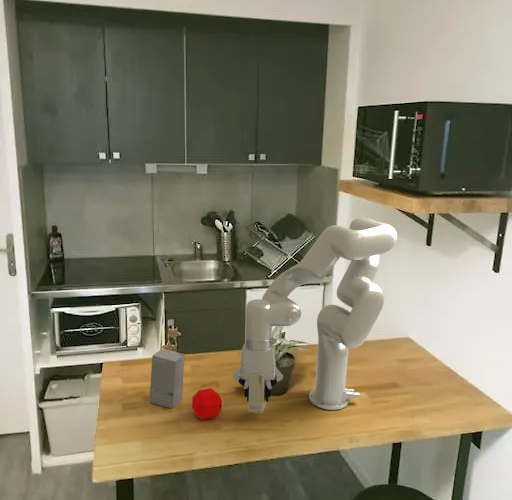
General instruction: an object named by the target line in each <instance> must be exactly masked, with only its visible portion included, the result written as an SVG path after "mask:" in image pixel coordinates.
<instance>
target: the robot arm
mask: <svg viewBox="0 0 512 500" xmlns="http://www.w3.org/2000/svg"><path fill="white" fill-rule="evenodd" d="M397 242H398V234H397V231H396V229H395V228H394V227H393V226H392V225H390V224H388V223H384V222H381V221H378V220H374V219H371V218H368V217H356V218H355V219H353V220H352V221H351V223H350V224H349V228H347V227H345V226H341V225H336V224H335V225H334V224H333V225H329V226H327V227H326V228H325V229H324V230H323V232H322V233H321V234H320V235H319V236H318V238H317V239H316V241H315V242H314V243H313V245H312V246H311V247H310V249H309V250H308V251H307V253H306V254H305V255H304V256H303V258H302V259H301V261H299V262H298V263H297V264H295V265H293V266H291V267H290V268H288V269H286V270H285V271H283V272H282V273H281V274H279V275H278V276H277V277H276V278H275V279H274V280H273V281H272V282H271V284H270V285H269V286H268V287H267V289H266V290H265V292H264V294H263V296H262V297H261V298H260V299H259V298H258V299H251V300H250V301H248V302H247V303H246V305H245V343H244V344H243V345H242V350H241V355H240V366H239V368H238V369H236V371H235V372H234V373H233V375H232V379H234V380H235V381H237V382H238V383H239V384H240V385H241V386H242V387H243V390H244V398H246V402H249V374H264V380H266V403H268V402H269V398H271V396H272V395H271V394H272V393H271V392H272V388H273V387H275V386H276V384H278V383H279V382H281V381H282V380H283V378H284V375H283V374H282V373H281V372H280V370H279V369H278V368H277V366H276V352H275V351H276V350H275V346H274V344H277V338H274V337H272V336H273V327H290V326H291V327H292V326H294V325H295V324H296V323H298V322H299V320H300V319H301V315H302V310H301V308H300V306H299V305H298V303H296V301H294V300H292V299H290V298H289V296H290V295H291V293H292V292H293V291H294V290H296V289H298V287H300V286H302V285H306V284H311V283H316V282H321V281H323V280H324V279H325V278H326V277H327V275H329V273H330V271H331V270H332V269H333V268H334V266H335V265H336V264H337V262H338V261H339V259H341V258H342V259H344V260H347V261H350V262H349V264H348V266H347V269H346V271H345V273H344V274H343V277H342V278H341V280H340V282H339V284H338V285H337V289H336V297H337V299H338V300H339V301H340V302H341V303H343V304H344V305H346V306H348V307H350V308H352V309H351V311H349V310H347V309H346V308H344V307H342V306H340V305H337V304H328V305H325V306H324V307H322V308H321V310H320V311H319V312H318V315H317V318H316V328H317V330H316V331H317V340H318V342H317V343H318V344H317V354H316V366H315V379H314V389H313V390H310V392H309V394H308V399H309V402H310V403H311V404H312V405H314V406H316V407H317V408H319V409H323V410H328V411H336V410H337V411H338V410H341V409H344V408H346V407H347V406H348V405H349V399H350V398H351V399H359V398H360V392H359V391H355V389H354V388H347V387H346V380H347V379H346V378H347V369H348V359H349V349H356V348H359V347H360V346H361V345H363V344H364V342H365V341H366V339H367V338H368V336H369V334H370V332H371V330H372V329H373V327H374V325H375V324H376V321H377V320H378V317H379V316H380V314H381V311H382V309H383V308H384V304H385V294H384V291H383V289H382V288H381V287H380V286H379V285H378V284H376V283H375V282H373V281H374V279H375V277H376V274H377V272H378V270H379V267H380V260H381V259H380V258H381V257H380V255H383V254H386V253H388V252H390V251H391V250H392V249H393V248H394V247H395V246H396V244H397Z"/></svg>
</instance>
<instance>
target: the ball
mask: <svg viewBox="0 0 512 500" xmlns="http://www.w3.org/2000/svg"><path fill="white" fill-rule="evenodd" d="M191 398H192V401H191V409H192V410H193V412H194V414H195V416H197V417H198V418H199V419H201V420H202V421H203V420H209V419H215V418H216V417H217V416H218V415H219V414H220V413H221V412H222V411H223V408H222V407H223V399H222V397H221V395H220V394H219V393H218V391H216V390H215V389H213V387H211V388H203V389H199V390H198V391H197V392H196V393H195V394H194V395H193V396H192V397H191Z"/></svg>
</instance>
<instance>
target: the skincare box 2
mask: <svg viewBox="0 0 512 500" xmlns="http://www.w3.org/2000/svg"><path fill="white" fill-rule="evenodd" d="M266 385H267V384H266V380H264V374H249V401H248V410H247V412H250V413H258V414H263V413H264V410H265V407H266V404H267V402H266Z"/></svg>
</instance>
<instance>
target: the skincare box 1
mask: <svg viewBox="0 0 512 500" xmlns="http://www.w3.org/2000/svg"><path fill="white" fill-rule="evenodd" d="M185 355H186V354H184V353H181V352H177V351H175V350H169V349H165V348H161V349H160V350H158V351H157V352H156V353H154V354H153V355H152V357H151V358H152V359H151V369H150V371H151V372H150V373H151V374H150V388H149V404H154V405H156V406H157V405H158V406H162V407H165V408H169V409H174V408H175V407H176V406H177V405H178V404H179V403H180V402H181V401H182V399H183V389H184V388H183V387H184V386H183V384H184V371H185V370H184V369H185V359H186V358H185Z"/></svg>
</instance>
